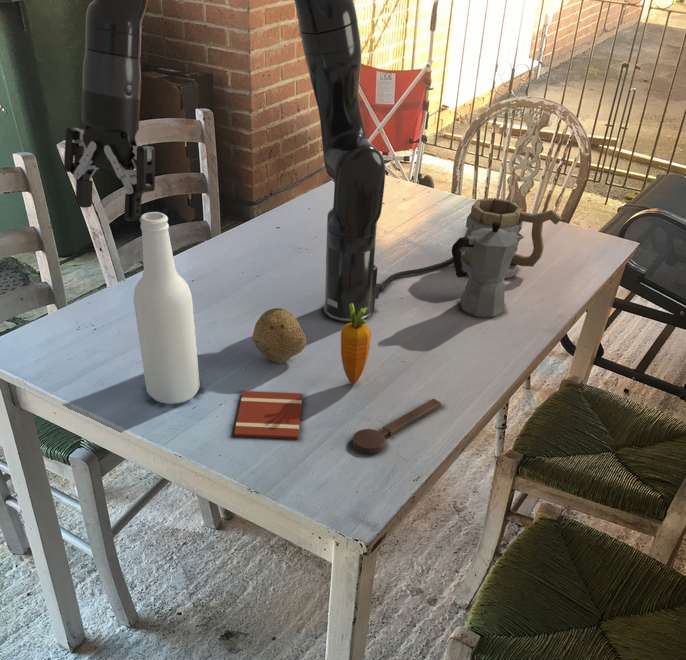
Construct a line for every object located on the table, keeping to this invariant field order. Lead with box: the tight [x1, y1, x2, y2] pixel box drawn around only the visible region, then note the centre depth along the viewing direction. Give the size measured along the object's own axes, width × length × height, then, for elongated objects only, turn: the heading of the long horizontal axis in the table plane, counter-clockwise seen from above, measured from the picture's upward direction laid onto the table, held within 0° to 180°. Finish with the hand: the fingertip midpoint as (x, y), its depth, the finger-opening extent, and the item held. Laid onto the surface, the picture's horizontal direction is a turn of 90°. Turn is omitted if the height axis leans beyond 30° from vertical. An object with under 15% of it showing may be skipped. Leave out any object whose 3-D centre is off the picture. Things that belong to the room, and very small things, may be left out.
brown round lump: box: [252, 307, 307, 364], centre depth 134 cm, size 9×9×10 cm
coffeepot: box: [451, 222, 525, 318], centre depth 150 cm, size 15×9×18 cm, turn 110°
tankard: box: [461, 197, 562, 279], centre depth 165 cm, size 20×13×15 cm, turn 68°
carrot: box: [340, 303, 372, 385], centre depth 127 cm, size 5×5×15 cm
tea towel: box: [233, 390, 303, 440], centre depth 123 cm, size 10×12×1 cm
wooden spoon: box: [352, 398, 442, 455], centre depth 122 cm, size 19×5×1 cm, turn 134°
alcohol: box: [133, 211, 201, 405], centre depth 118 cm, size 9×9×30 cm
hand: (107, 213), depth 110 cm, fingers open, 8 cm apart
